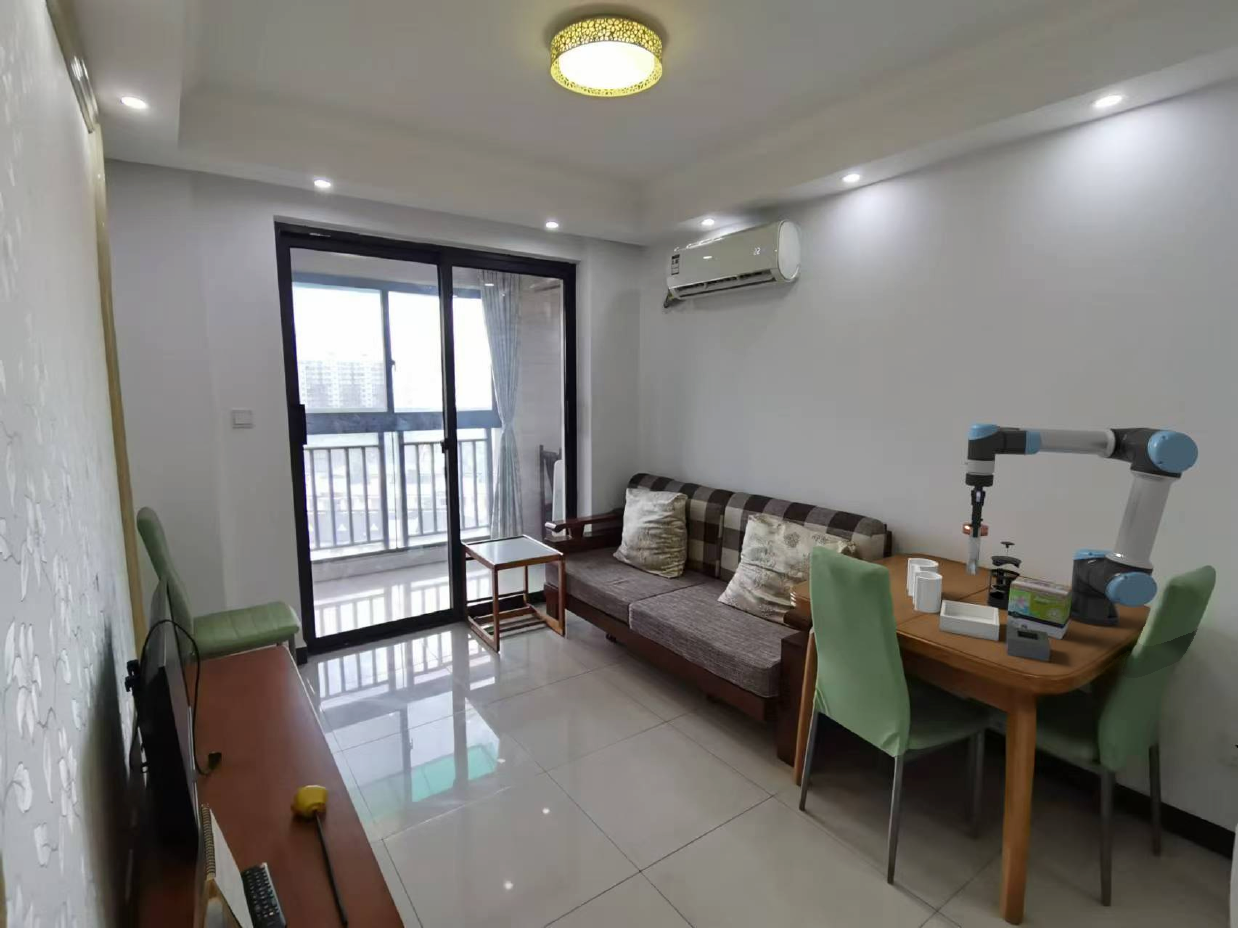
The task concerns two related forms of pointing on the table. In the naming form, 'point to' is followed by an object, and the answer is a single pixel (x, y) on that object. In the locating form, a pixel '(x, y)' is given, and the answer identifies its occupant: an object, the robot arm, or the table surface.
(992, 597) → the french press
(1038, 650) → the block
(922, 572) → the bracket
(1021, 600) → the tea box
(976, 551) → the copper slotted screw
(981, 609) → the tray
